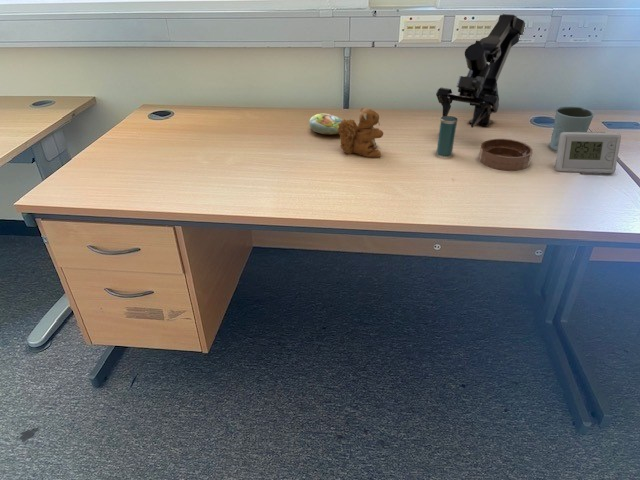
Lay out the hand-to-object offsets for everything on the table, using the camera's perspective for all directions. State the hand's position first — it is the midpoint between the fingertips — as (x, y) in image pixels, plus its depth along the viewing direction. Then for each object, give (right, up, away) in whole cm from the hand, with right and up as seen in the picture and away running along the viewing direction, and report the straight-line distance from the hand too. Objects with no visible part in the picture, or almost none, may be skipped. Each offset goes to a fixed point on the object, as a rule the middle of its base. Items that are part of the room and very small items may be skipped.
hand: (457, 124), depth 142 cm
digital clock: (+32, -16, -12) cm, 38 cm away
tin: (-4, -10, -1) cm, 11 cm away
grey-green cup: (+33, -8, +1) cm, 34 cm away
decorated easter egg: (-40, +2, +17) cm, 44 cm away
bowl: (+12, -13, -6) cm, 19 cm away
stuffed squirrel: (-30, -8, +2) cm, 31 cm away
